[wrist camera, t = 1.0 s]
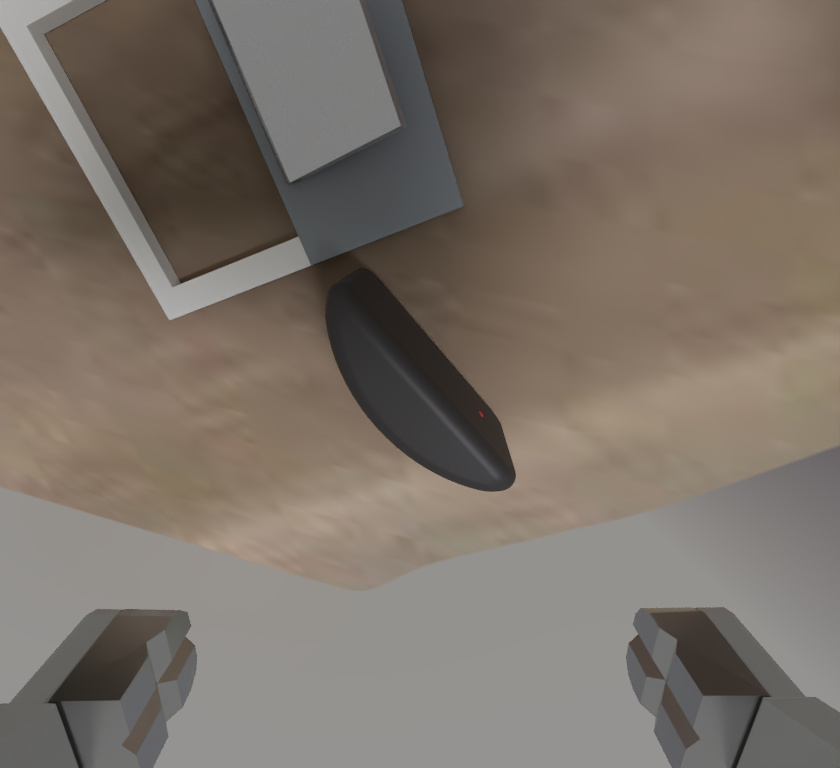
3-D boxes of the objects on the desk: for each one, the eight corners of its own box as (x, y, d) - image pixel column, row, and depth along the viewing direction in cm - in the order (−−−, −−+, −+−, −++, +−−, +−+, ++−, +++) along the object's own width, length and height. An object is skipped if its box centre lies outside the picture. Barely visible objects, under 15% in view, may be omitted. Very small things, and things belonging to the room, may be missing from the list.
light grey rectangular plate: (334, -97, 21) (324, -107, 20) (407, 126, 24) (400, 125, 23) (216, 3, 24) (202, -3, 23) (293, 184, 28) (284, 185, 27)
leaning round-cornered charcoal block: (322, 302, 31) (277, 334, 23) (367, 260, 30) (338, 278, 22) (459, 451, 36) (466, 527, 27) (503, 419, 34) (526, 489, 26)
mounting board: (343, -187, 22) (339, -208, 21) (462, 206, 29) (464, 206, 28) (3, 6, 26) (-17, -3, 24) (178, 316, 32) (169, 320, 31)
